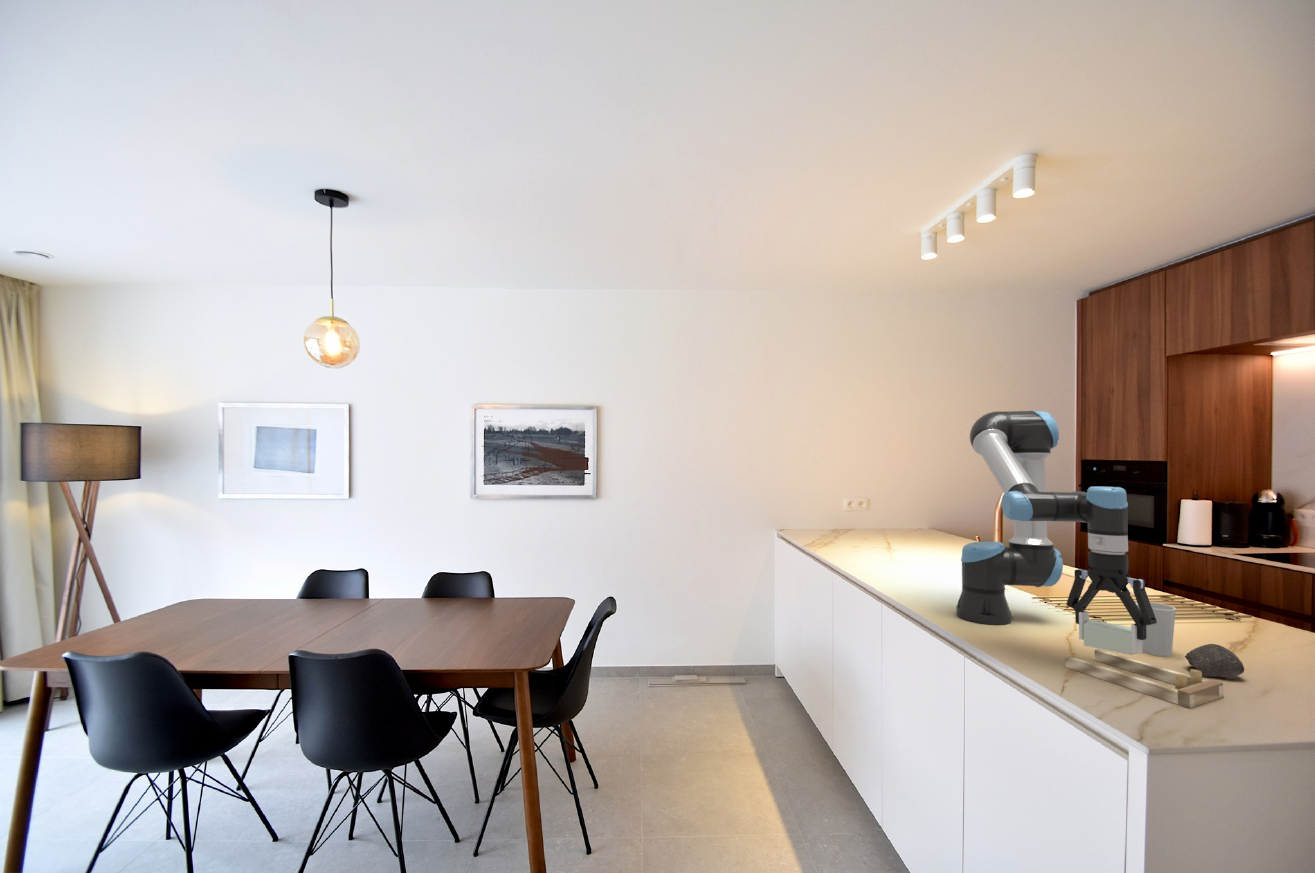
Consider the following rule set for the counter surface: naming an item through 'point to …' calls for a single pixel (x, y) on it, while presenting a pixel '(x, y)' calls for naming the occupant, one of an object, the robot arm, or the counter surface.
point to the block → (1108, 637)
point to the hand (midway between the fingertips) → (1109, 645)
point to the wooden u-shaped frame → (1186, 689)
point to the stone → (1215, 661)
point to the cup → (1160, 631)
